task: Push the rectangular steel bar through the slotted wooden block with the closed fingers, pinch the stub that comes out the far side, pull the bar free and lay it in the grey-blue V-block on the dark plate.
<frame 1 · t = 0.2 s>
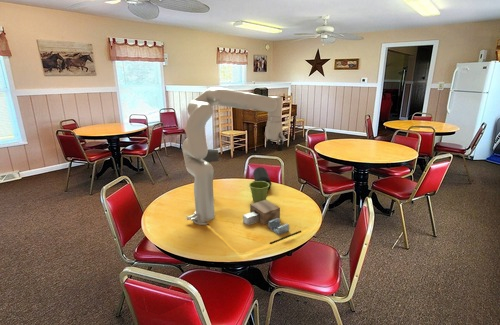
hand: (274, 149, 164), 31 cm above the table, tool pointing down, fingers open, 9 cm apart
slotted wooden block: (264, 219, 148), on the table
plant pot: (259, 202, 169), on the table
portable speaker: (261, 186, 195), on the table
v-block: (278, 232, 136), on the table
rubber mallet: (210, 197, 177), on the table
rectangular steel bar: (260, 218, 146), point 1 cm above the table, touching slotted wooden block
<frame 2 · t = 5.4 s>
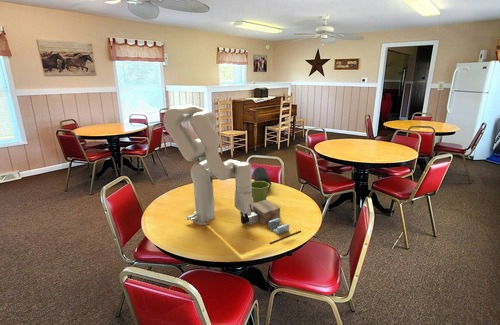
hand: (244, 222, 141), 2 cm above the table, tool pointing down, fingers closed
rectangular steel bar: (261, 218, 147), point 2 cm above the table, touching gripper
everything else where it was.
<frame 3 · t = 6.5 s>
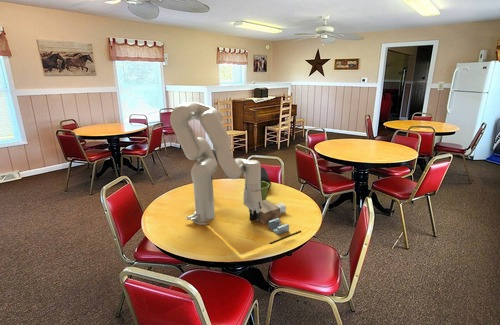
hand: (253, 219, 144), 2 cm above the table, tool pointing down, fingers closed
rectangular steel bar: (269, 215, 150), point 2 cm above the table, touching gripper, slotted wooden block
everything else where it was.
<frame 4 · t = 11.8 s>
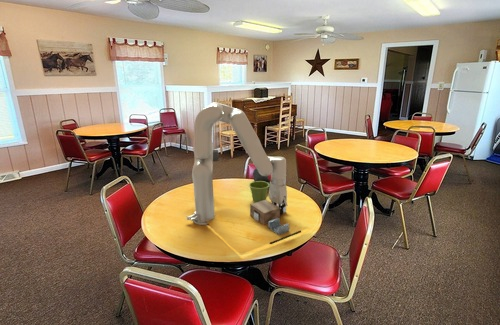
hand: (277, 212, 152), 1 cm above the table, tool pointing down, fingers closed on rectangular steel bar, 4 cm apart
rectangular steel bar: (270, 215, 150), point 2 cm above the table, touching gripper, slotted wooden block
everything else where it was.
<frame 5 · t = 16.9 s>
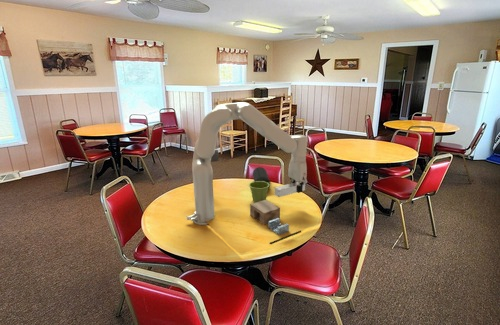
hand: (296, 190, 157), 11 cm above the table, tool pointing down, fingers closed on rectangular steel bar, 4 cm apart
rectangular steel bar: (289, 192, 154), point 11 cm above the table, touching gripper
everything else where it was.
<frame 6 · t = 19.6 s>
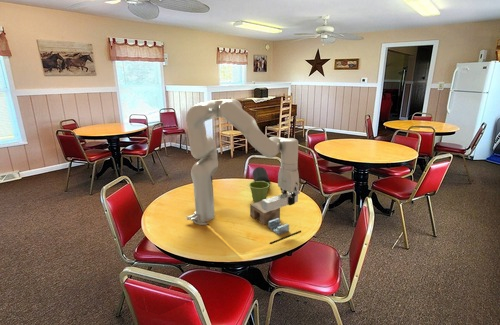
hand: (288, 202, 135), 14 cm above the table, tool pointing down, fingers closed on rectangular steel bar, 4 cm apart
rectangular steel bar: (280, 204, 133), point 14 cm above the table, touching gripper
everything else where it was.
when the fingers open (4 cm above the table, at t = 21.9 s): rectangular steel bar drops 1 cm, resting on v-block.
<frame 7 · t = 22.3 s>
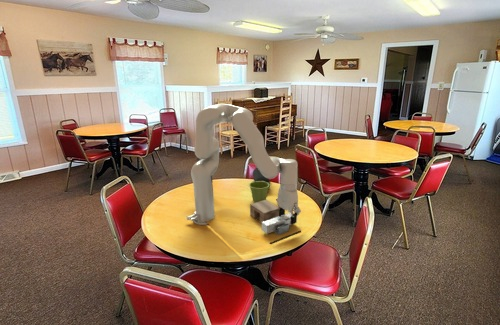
hand: (287, 219, 138), 5 cm above the table, tool pointing down, fingers open, 7 cm apart
rectangular steel bar: (279, 226, 136), point 3 cm above the table, touching v-block
everything else where it was.
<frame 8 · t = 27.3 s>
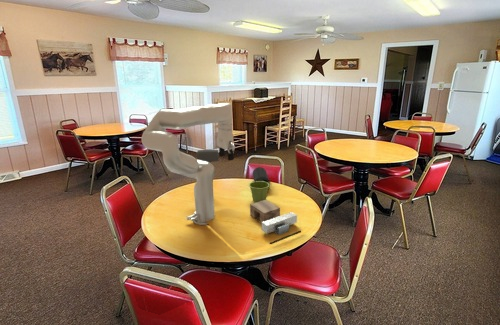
hand: (226, 158, 157), 28 cm above the table, tool pointing down, fingers open, 9 cm apart
nothing on the table moved.
at the end: rectangular steel bar 0.8 cm off-centre on the v-block, point 3.0 cm above the v-block's base; rectangular steel bar tilted 0°; the gripper is holding nothing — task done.
